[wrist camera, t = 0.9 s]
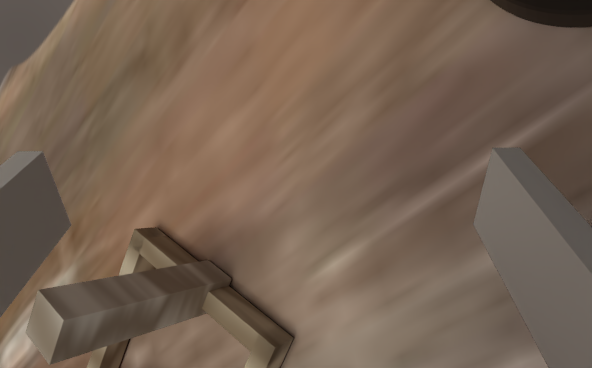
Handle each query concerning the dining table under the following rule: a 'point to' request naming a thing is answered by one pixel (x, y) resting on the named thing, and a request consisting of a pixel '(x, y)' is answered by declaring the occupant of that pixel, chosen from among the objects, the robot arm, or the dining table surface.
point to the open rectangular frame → (148, 307)
